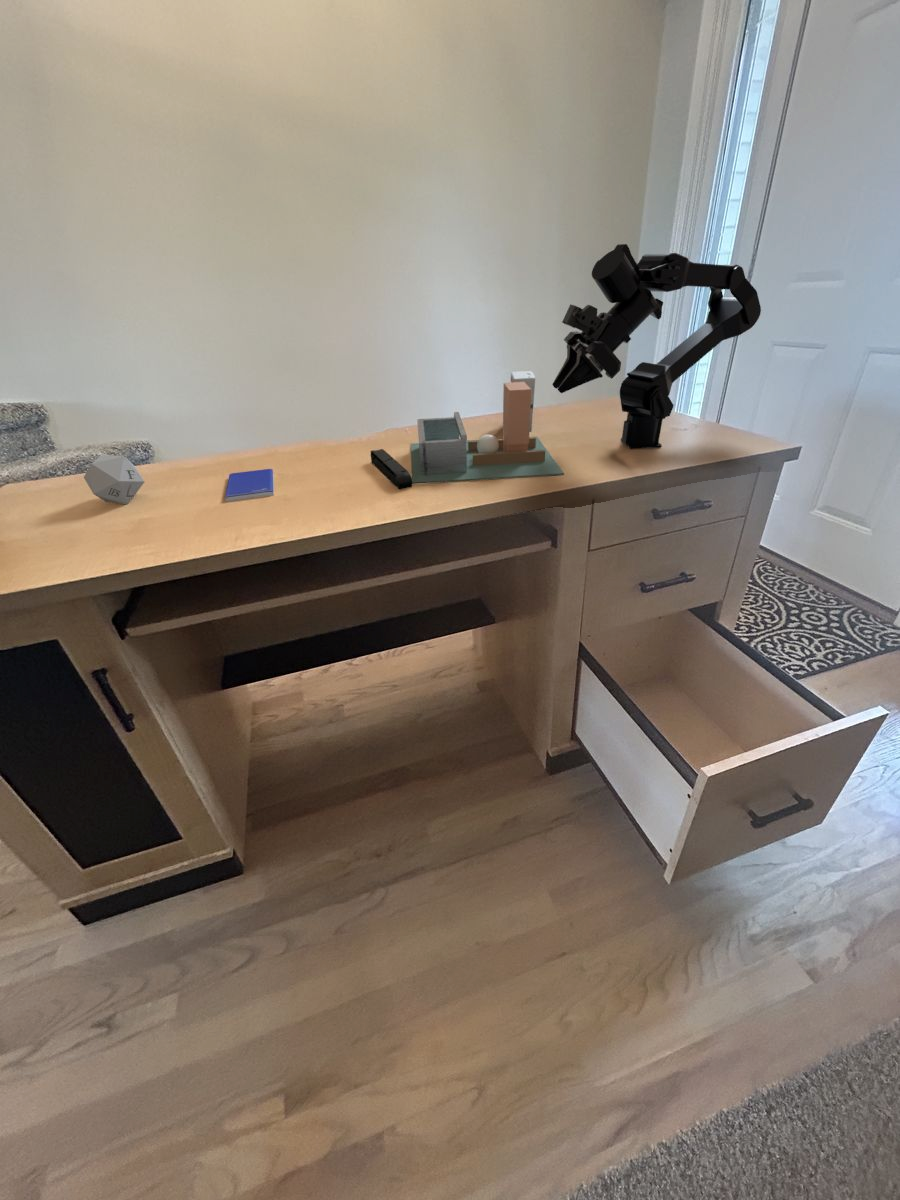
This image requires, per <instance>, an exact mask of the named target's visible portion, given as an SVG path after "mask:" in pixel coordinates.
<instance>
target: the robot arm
mask: <svg viewBox="0 0 900 1200" xmlns="http://www.w3.org/2000/svg"><path fill="white" fill-rule="evenodd" d="M745 275H746V274H745V271H744V268H743V267H742V266H741V265H739V264H714V263H713V264H712V263H700V262H693V261H691V260H689V258H688V257H686V256H685V255H684V256H683V255H682V254H679V253H677V252H666V253H665V252H663V253H661V252H660V253H658V252H657V253H646V254H643V255H642V256H641V259H639V261H638V262H636V260H635V258H634V257H633V255H632V253H631V249H630V248H629V245H628V244H627V243H621V244H618V243H617V245H616V246H615V247H614V249H612V250H611V251H609V252H608V253H606V254H605V255H603V256H602V257H601V258H600V259H598V260H597V261H596V262H595V263H594V266H593V267H592V271H591V277H592V279H593V281H594V282H595V283H596V285H597V286H598V288H599V289H600V291H601V292H602V294H603V295H604V297H605V298H606V299H607V301H608V303H611V304H614V305H612V307H610V309H609V310H608V311H607V312H600V313H598V308H597V307H595V306H593V305H591V304H586V305H585V306H584V307H583V308H581V307H579V306H578V305H574V304H570V305H569V307H568V309H567V310H566V313H565V315H564V316H563V319H562V321H561V322H562V324H564V325H566V326H569V327H571V328H573V329H577V330H579V331H570V332H569V333H568V334H567V335H566V336H565V337H564V338H563V341H564V342H565V343H566V353H567V354H566V356H567V357H566V359H565V361H564V363H563V365H562V367H561V368H560V370H559V372H558V373H557V376H556V377H555V379H554V381H553V382H552V387H553V388H554V389H557V391H558V392H559V393H560V394H563V393H566V392H568V391H570V390H572V389H575V388H578V387H579V386H583V385H584V384H586V383H589V382H591V381H594V380H597V379H599V378H600V379H601V378H603V374H602V372H603V371H604V372H605V375H606V376H607V377H608V378H610V380H611V379H614V378H615V376H616V375H617V374H618V373H619V372H620V371H621V367H622V362H621V360H620V359H619V358H618V357H617V355H616V354H615V351H616V350H617V349H618V348H619V347H620V346H621V345H622V344H623V343H625V344H628V343H629V342H630V341H631V340H632V337H630V336H631V335H632V334H633V332H634V331H635V330H636V329H638V327H640V326H641V324H643V322H644V321H646V319H647V318H648V317H649V316H652V317H653V318H654V319H656V320H660V319H661V318H662V315H663V305H664V301H662V300H660V299H659V298H657V297H656V298H655V296H654V295H653V292H660V293H668V292H673V291H674V292H675V291H677V290H681V289H682V288H684V287H697V288H698V287H699V288H709V290H710V295H709V298H708V302H707V307H708V309H709V311H708V314H707V317H706V322H704V323H703V324H702V325H701V326H700V327H699V328H698V329H697V330H695V331H694V332H693V333H691V334H690V335H689V336H688V337H686V339H685V340H683V341H682V342H681V343H680V344H678V345H677V346H676V347H675V348H674V349H672V350H671V351H670V352H669V353H668V354H666V356H664V357H663V358H661V360H660V361H659V362H657V363H651V362H646V361H645V362H644V361H641V362H640V363H639V364H638V365H637V366H635V368H633V370H632V371H630V372H627V373H626V375H627V376H626V377H625V378H624V380H622V382H621V385H620V387H619V399H620V405H621V412H623V413H627V416H626V420H624V421H623V428H622V433H621V435H622V436H621V438H620V442H622V443H623V444H624V445H626V446H627V448H629V449H630V450H637V449H638V450H640V449H654V448H662V443H660V436H661V431H662V425H663V420H664V419H666V418H668V417H670V416H671V414H672V411H673V408H674V404H673V401H672V399H670V397H669V396H670V393H671V389H672V386H673V384H674V382H675V381H677V380H678V379H679V378H680V377H681V376H683V375H684V374H685V373H686V372H687V371H689V370H690V369H691V368H692V367H693V366H695V365H696V364H697V363H699V361H700V360H701V359H703V358H704V357H705V356H706V355H707V354H708V353H710V352H711V351H712V350H713V349H714V348H716V347H717V346H718V345H720V343H722V341H725V340H728V339H733V338H734V337H738V336H741V335H742V334H744V333H746V332H747V331H749V330H751V328H753V327H754V326H755V325H756V323H757V322H758V320H759V318H760V316H761V314H762V313H761V311H762V308H761V307H762V306H761V303H760V300H759V294H758V291H757V289H755V287H754V286H753V285H752V284H751V283H750V281H749V280H748V279H747V278H746V276H745ZM723 290H729V291H730V294H731V295H732V296H727V295H726V296H724V295H723ZM580 331H581V332H580Z"/></svg>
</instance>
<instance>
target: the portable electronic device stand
mask: <svg viewBox="0 0 900 1200" xmlns="http://www.w3.org/2000/svg"><path fill="white" fill-rule="evenodd" d="M370 461H371V463H372V465H373V466H374V467H375V468H376V469H377V470H378V471H379V472H380V473H381V474H383V476H385V478H386V479H388V481H390V483H391V484H393V486H395V488H396V489H398V490H403V489H409V488H412V487H413V484H412V474H411V473H410V471H409V470H407V468H405V467H404V466H403V465H401V463H399V462H398V461H397V460H396V459H395V458H394V457H393V456H391V454H389V453H388V452H387V451H386V450H385V449H383V448H378V449H373V450H370Z"/></svg>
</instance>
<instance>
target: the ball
mask: <svg viewBox="0 0 900 1200" xmlns="http://www.w3.org/2000/svg"><path fill="white" fill-rule="evenodd" d="M497 439H498V438H497V437H496V436H495V435H493V434H489V433H487V434H483V435H482V436H480V438H479V439H477V440H478V443H477V450H478V452H479V453H497V451H498V449H499V442H498V440H497Z"/></svg>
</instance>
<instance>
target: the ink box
mask: <svg viewBox="0 0 900 1200" xmlns="http://www.w3.org/2000/svg"><path fill="white" fill-rule="evenodd" d="M512 382H525V383H526V384H527V385H528V386H529V387H530V388H531V407H530V429H529V433H532V427H533V414H534V401H535V389H536V376H535V374H534V372H533V371H532V370H526V371H525V370H522V371H511V372H510V383H512Z"/></svg>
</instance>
